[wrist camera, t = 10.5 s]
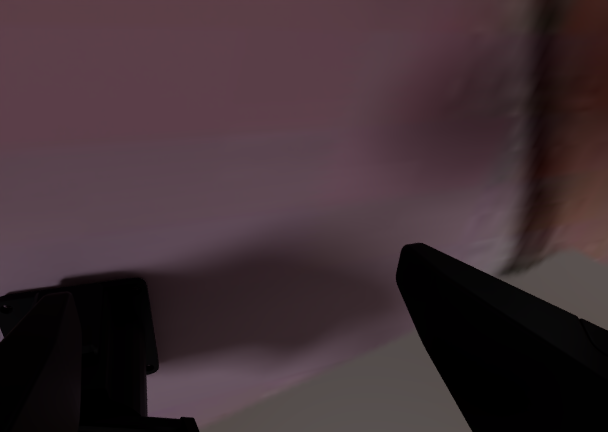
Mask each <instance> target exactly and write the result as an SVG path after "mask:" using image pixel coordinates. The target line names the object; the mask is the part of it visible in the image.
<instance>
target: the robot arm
mask: <svg viewBox="0 0 608 432" xmlns="http://www.w3.org/2000/svg"><path fill="white" fill-rule="evenodd" d="M396 282H397V286H398V288H399V290H400V293H401V295H402V297H403V300H404V302H405V304H406V307H407V309H408V311H409V314H410V316H411V318H412V320H413V323H414V325H415V327H416V330H417V332H418V334H419V337H420V338H421V341H422V343H423V345H424V347H425V348H426V351H427V352H428V354H429V356H430V358H431V360H432V361H433V363H434V365H435V366H436V368H437V370H438V372H439V374H440V375H441V377H442V379H443V380H444V382H445V384H446V386H447V387H448V389H449V391H450V393H451V395H452V397H453V398H454V400H455V402H456V404H457V405H458V407H459V409H460V411H461V412H462V414H463V416H464V418H465V420H466V421H467V423H468V425H469V427H470V428H471V430H472V432H608V330H605V329H603V328H601V327H599V326H597V325H595V324H592V323H590V322H588V321H586V320H584V319H579V318H578V317H577V316H576V315H573V314H571V313H569V312H567V311H565V310H563V309H561V308H559V307H557V306H554V305H552V304H550V303H548V302H546V301H544V300H542V299H540V298H537V297H535V296H533V295H531V294H529V293H527V292H525V291H523V290H521V289H518V288H516V287H514V286H512V285H510V284H508V283H506V282H504V281H502V280H499V279H497V278H495V277H493V276H491V275H489V274H487V273H485V272H483V271H480V270H478V269H476V268H474V267H472V266H470V265H468V264H466V263H464V262H461V261H459V260H457V259H455V258H453V257H451V256H449V255H447V254H445V253H442V252H440V251H438V250H436V249H434V248H432V247H430V246H428V245H426V244H423V243H414V244H407V245H405V246H403V248H402V250H401V253H400V258H399V263H398V267H397V272H396ZM134 287H139V288H140V289H138V290H134V289H132V288H134ZM4 305H9V306H11V308H6V307H4ZM0 329H1V331H2V334H3V336H4V339H3V340H2V341H1V342H0V432H199V429H198V427H197V424H196V422H195V419H194V418H190V417H181V418H180V419H173V418H159V417H148V415H147V379H146V375H149V374H153V373H155V372H156V371H157V370H158V368H159V362H158V355H157V348H156V341H155V335H154V328H153V322H152V315H151V308H150V302H149V295H148V288H147V283H146V281H145V280H143V279H141V278H129V279H122V280H115V281H107V282H100V283H93V284H85V285H78V286H71V287H63V288H56V289H48V290H41V291H34V292H26V293H19V294H12V295H5V296H1V297H0ZM147 365H150V366H147Z"/></svg>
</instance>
